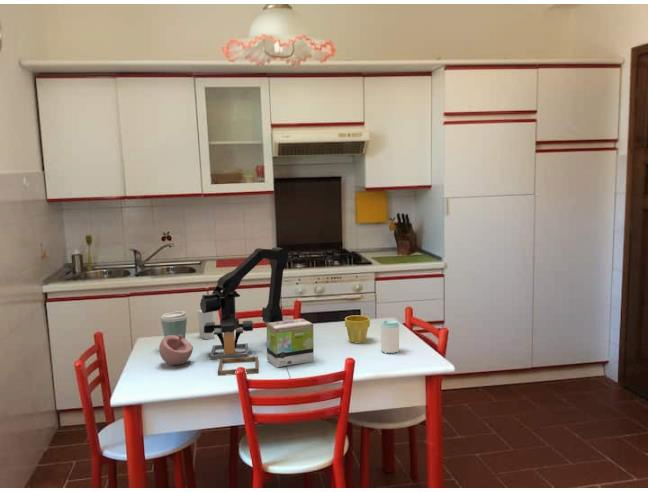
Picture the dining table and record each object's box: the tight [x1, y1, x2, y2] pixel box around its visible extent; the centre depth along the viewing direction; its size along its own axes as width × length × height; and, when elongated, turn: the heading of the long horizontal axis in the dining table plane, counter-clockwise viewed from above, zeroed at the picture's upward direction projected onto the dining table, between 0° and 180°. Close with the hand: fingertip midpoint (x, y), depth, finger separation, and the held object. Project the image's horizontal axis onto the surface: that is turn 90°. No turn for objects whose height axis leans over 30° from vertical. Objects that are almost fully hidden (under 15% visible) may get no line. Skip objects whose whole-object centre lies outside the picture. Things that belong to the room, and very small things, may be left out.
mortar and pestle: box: [158, 334, 194, 366], centre depth 214 cm, size 12×12×12 cm
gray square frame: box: [209, 343, 249, 361], centre depth 227 cm, size 14×14×2 cm
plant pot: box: [344, 314, 371, 343], centre depth 239 cm, size 10×10×10 cm
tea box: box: [266, 318, 314, 368], centre depth 215 cm, size 15×10×15 cm
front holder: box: [217, 356, 259, 376], centre depth 210 cm, size 14×14×2 cm
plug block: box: [223, 331, 236, 354], centre depth 227 cm, size 4×4×8 cm
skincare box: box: [197, 309, 215, 340], centre depth 249 cm, size 6×4×12 cm
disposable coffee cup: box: [160, 310, 188, 339], centre depth 233 cm, size 11×11×15 cm
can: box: [380, 319, 400, 354], centre depth 224 cm, size 7×7×12 cm
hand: (229, 348), depth 227 cm, fingers closed on plug block, 4 cm apart
